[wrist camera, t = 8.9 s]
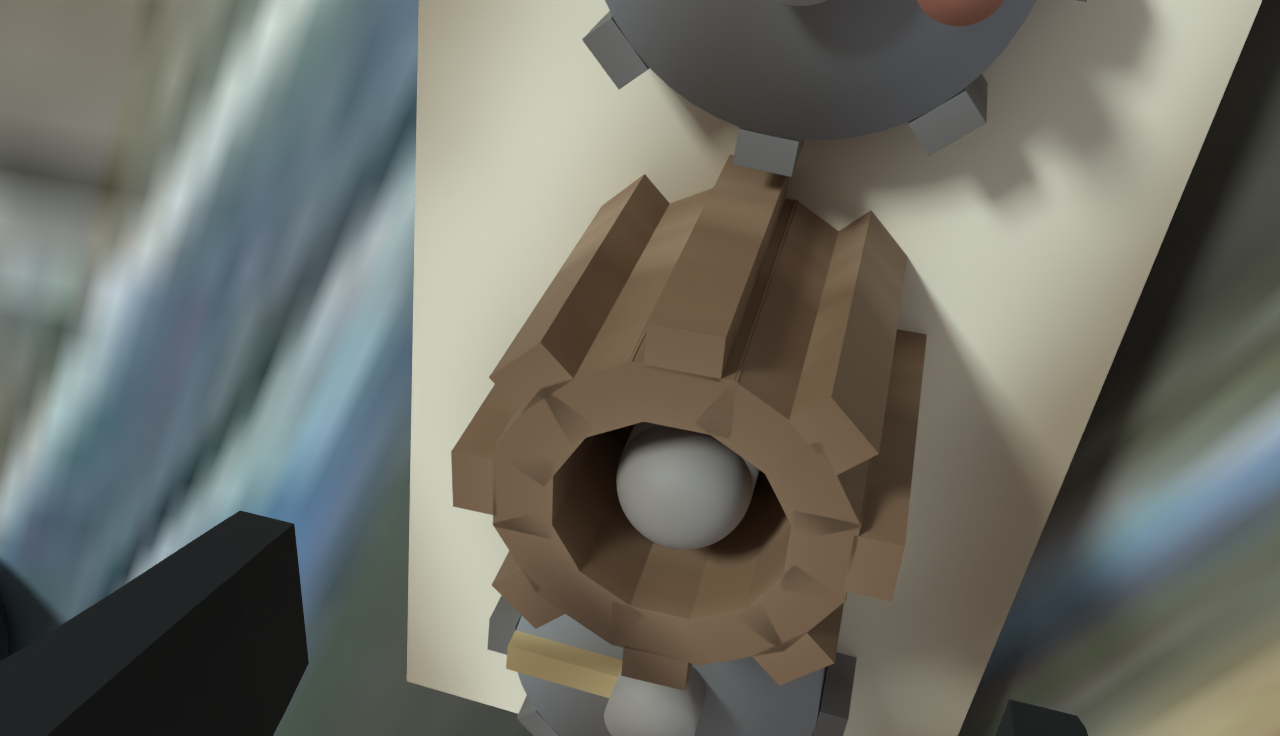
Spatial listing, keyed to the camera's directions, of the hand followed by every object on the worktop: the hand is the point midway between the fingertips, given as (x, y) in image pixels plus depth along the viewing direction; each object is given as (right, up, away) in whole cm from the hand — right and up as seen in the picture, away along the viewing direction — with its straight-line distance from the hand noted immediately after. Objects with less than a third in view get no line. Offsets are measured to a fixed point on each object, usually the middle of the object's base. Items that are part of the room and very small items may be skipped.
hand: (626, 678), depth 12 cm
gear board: (+2, +4, +8) cm, 9 cm away
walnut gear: (+2, +4, +7) cm, 8 cm away
